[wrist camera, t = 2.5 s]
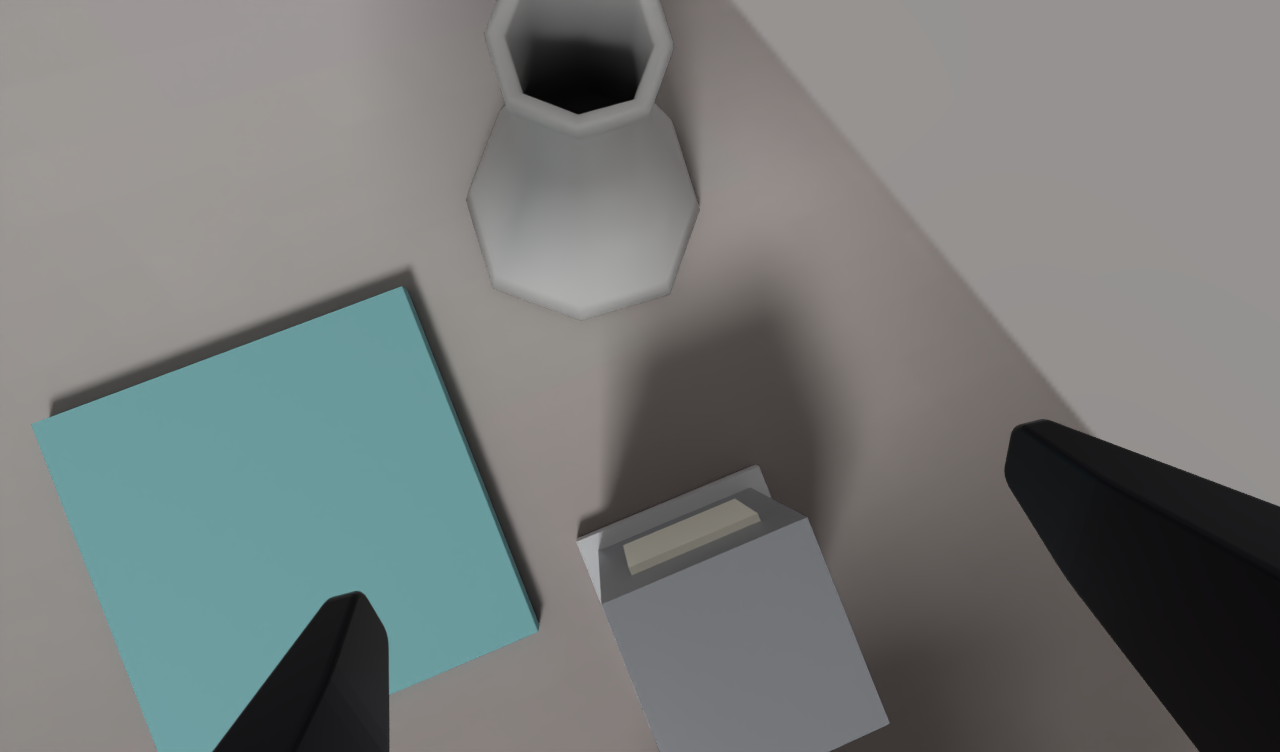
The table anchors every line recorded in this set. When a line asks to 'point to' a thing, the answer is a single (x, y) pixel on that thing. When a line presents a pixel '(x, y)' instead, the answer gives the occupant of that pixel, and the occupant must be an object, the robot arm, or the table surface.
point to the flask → (581, 158)
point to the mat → (283, 514)
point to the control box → (732, 624)
